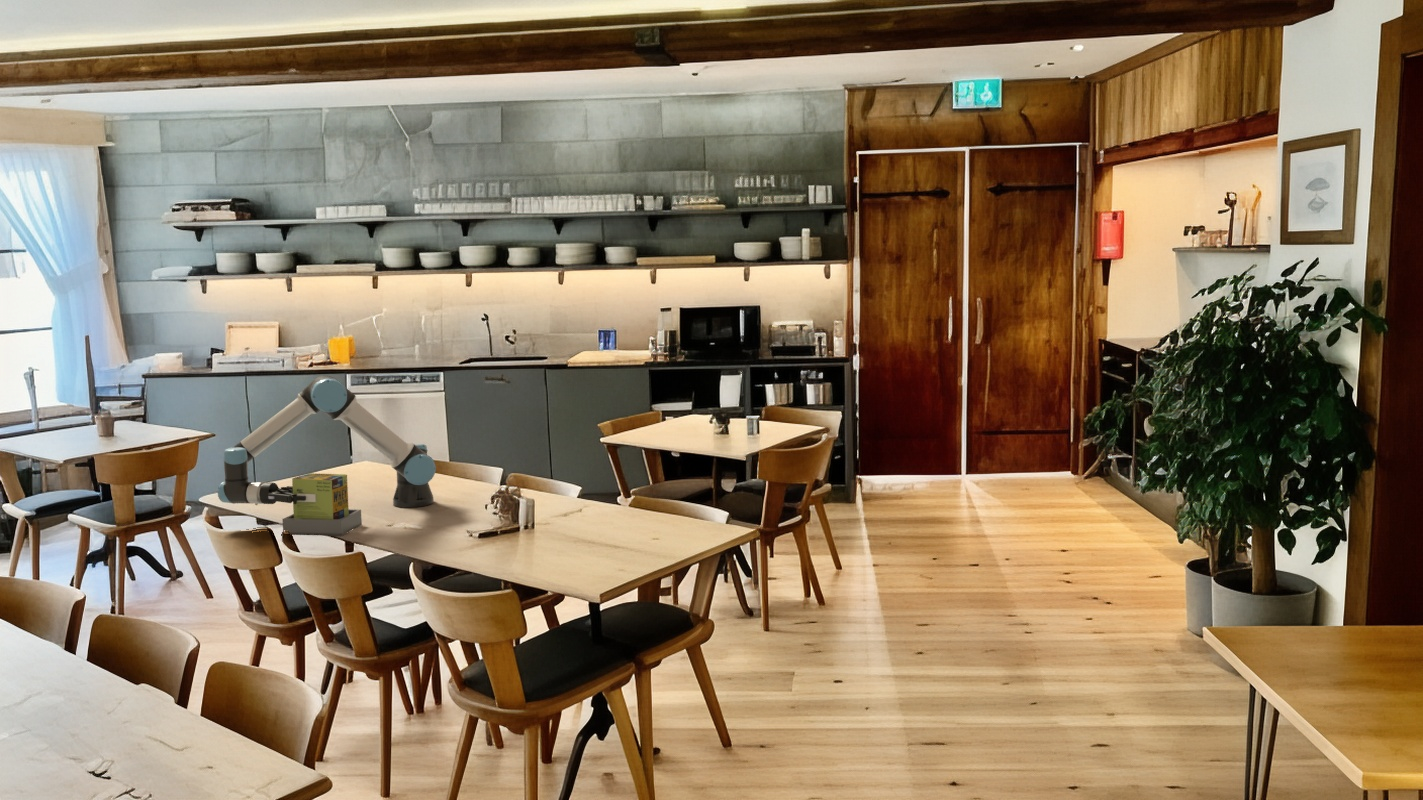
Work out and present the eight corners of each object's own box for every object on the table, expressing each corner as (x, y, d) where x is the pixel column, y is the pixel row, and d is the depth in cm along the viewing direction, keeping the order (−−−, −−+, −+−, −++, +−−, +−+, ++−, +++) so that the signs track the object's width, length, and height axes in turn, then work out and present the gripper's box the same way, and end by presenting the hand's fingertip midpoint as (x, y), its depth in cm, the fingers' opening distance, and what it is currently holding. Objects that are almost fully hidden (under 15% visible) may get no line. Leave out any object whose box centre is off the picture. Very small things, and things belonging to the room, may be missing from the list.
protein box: (333, 524, 370) (332, 480, 368) (293, 522, 373) (291, 478, 371) (349, 517, 380) (348, 474, 378) (310, 515, 383) (308, 472, 381)
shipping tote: (361, 524, 384) (361, 509, 383) (341, 535, 368) (341, 520, 367) (305, 523, 386) (304, 508, 385) (283, 534, 370) (282, 519, 369)
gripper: (280, 496, 389) (339, 498, 387) (246, 511, 366) (308, 512, 364) (279, 476, 389) (338, 477, 386) (245, 489, 365) (307, 490, 363)
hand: (323, 494), depth 375 cm, fingers closed on protein box, 11 cm apart
